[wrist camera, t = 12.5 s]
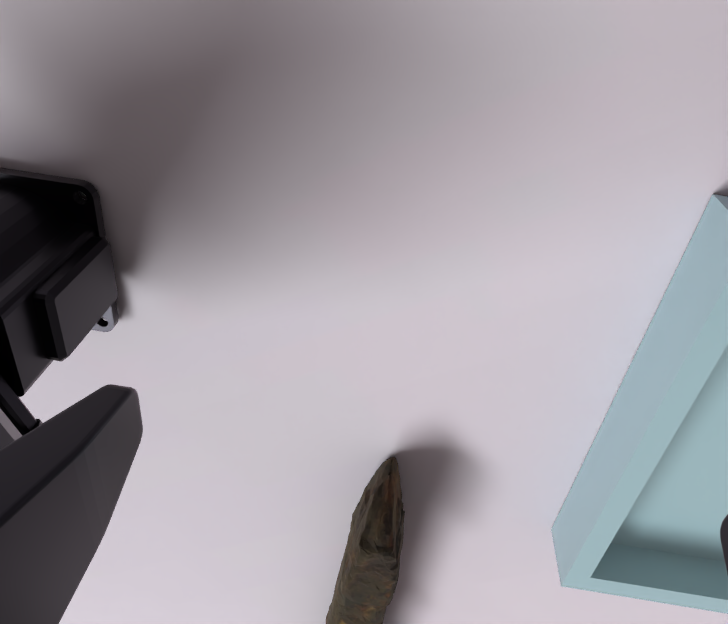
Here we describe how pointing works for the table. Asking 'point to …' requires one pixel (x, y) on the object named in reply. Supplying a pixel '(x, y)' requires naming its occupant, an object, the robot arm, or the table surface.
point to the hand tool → (371, 552)
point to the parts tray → (662, 450)
